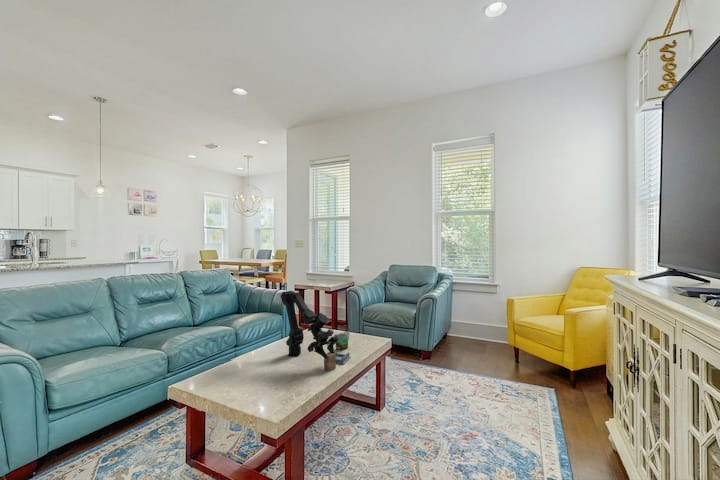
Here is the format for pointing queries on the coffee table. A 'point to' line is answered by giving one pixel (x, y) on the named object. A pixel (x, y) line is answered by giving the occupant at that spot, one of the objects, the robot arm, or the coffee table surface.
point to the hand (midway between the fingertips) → (330, 357)
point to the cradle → (342, 358)
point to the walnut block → (330, 362)
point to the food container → (342, 340)
